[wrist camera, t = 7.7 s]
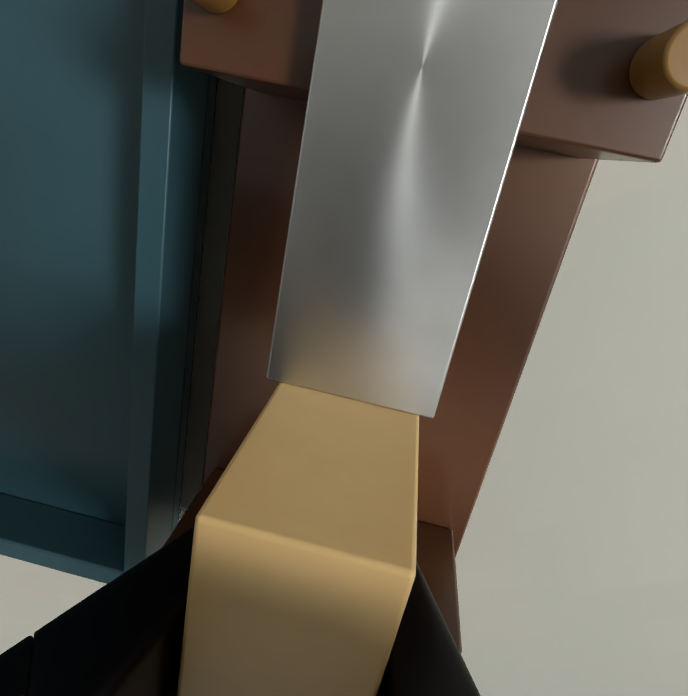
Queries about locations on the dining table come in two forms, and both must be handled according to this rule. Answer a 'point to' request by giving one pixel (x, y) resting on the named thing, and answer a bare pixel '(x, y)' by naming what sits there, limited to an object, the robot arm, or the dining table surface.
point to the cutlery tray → (97, 277)
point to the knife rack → (501, 246)
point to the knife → (358, 344)
